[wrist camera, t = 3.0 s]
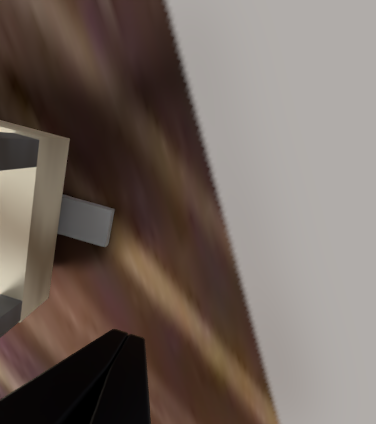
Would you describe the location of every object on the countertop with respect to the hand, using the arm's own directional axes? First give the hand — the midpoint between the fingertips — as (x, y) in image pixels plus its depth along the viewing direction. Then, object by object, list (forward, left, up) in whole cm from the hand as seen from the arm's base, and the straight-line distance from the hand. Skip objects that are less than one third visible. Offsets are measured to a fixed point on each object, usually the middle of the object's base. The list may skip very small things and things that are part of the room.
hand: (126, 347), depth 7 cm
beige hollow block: (0, +10, -7) cm, 13 cm away
